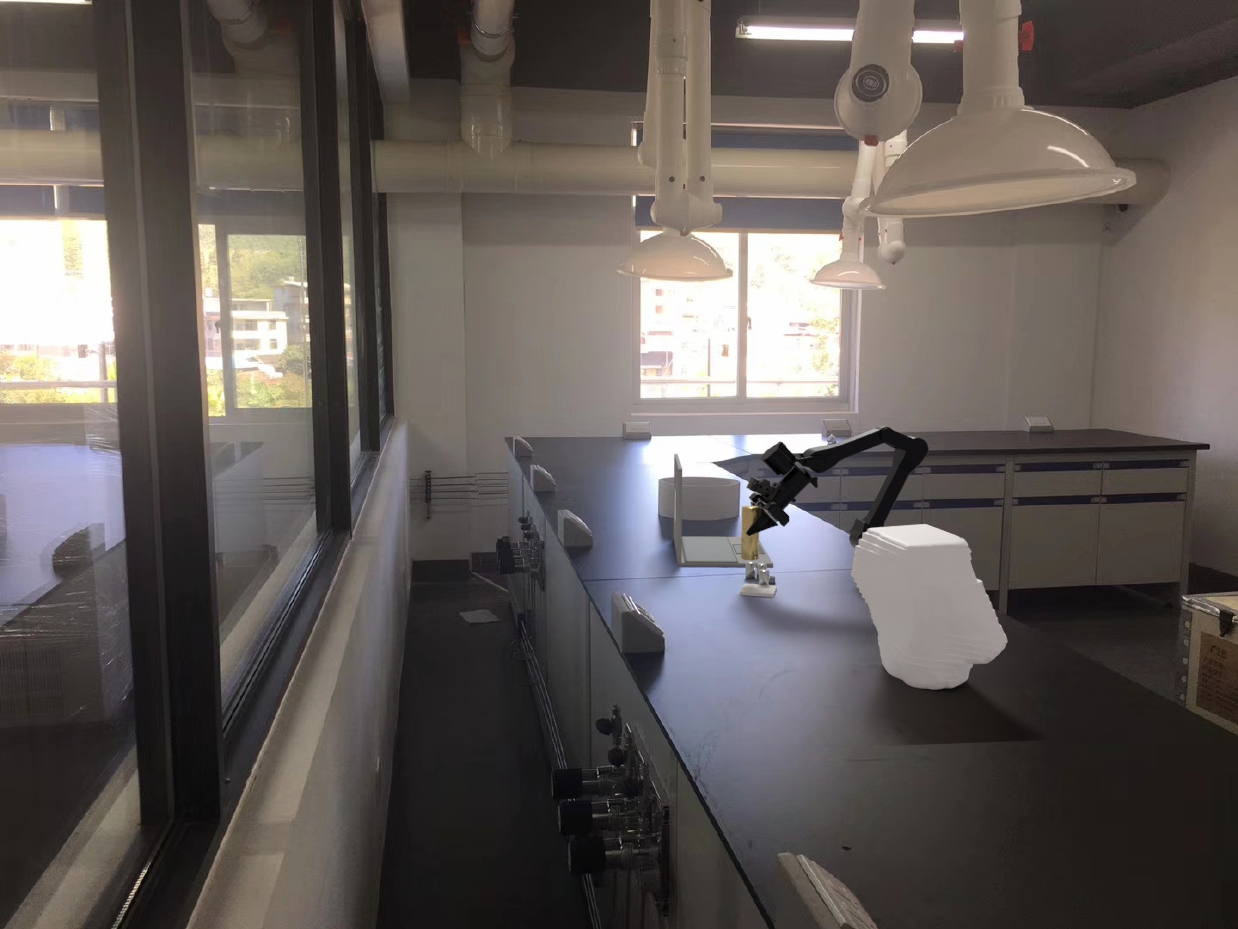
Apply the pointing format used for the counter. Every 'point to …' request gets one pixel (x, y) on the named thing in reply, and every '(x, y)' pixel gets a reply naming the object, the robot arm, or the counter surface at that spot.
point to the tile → (758, 590)
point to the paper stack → (926, 604)
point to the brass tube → (749, 542)
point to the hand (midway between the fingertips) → (745, 532)
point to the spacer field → (759, 573)
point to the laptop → (706, 540)
